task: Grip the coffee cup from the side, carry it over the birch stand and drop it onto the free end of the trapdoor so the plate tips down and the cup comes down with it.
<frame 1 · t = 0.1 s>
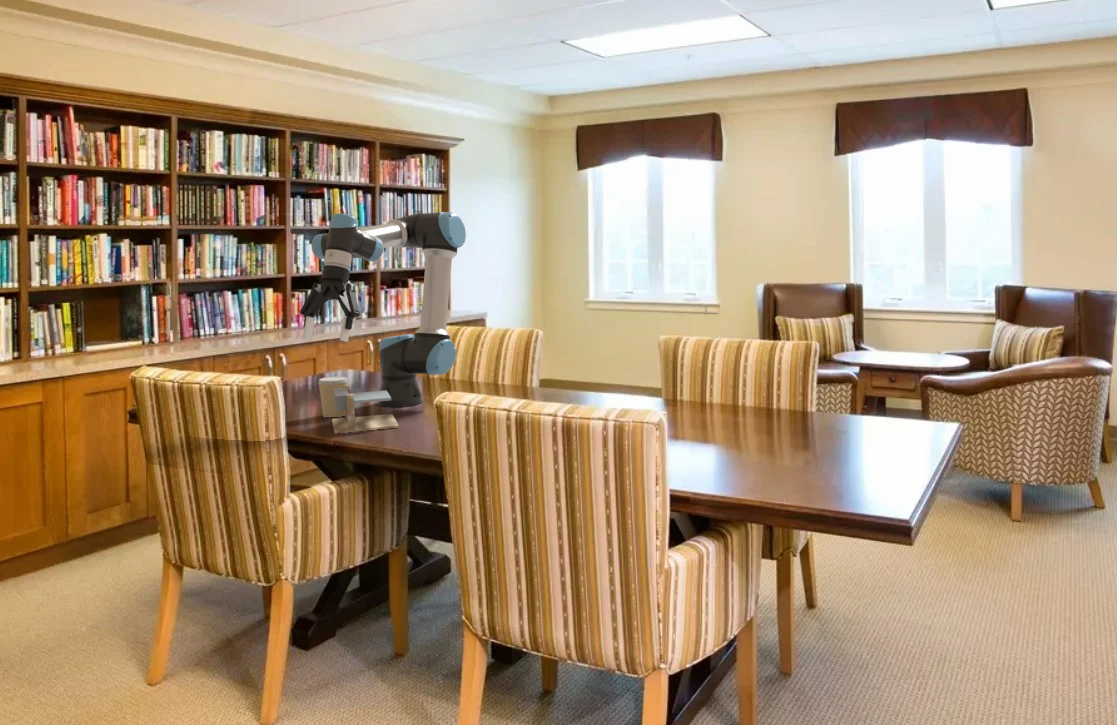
hand: (325, 340, 258), 28 cm above the table, tool tilted 20°, fingers open, 13 cm apart
coffee cup: (335, 416, 293), on the table
trapdoor: (362, 397, 275), point 9 cm above the table, hinge at 0.0°
frame: (368, 424, 277), on the table
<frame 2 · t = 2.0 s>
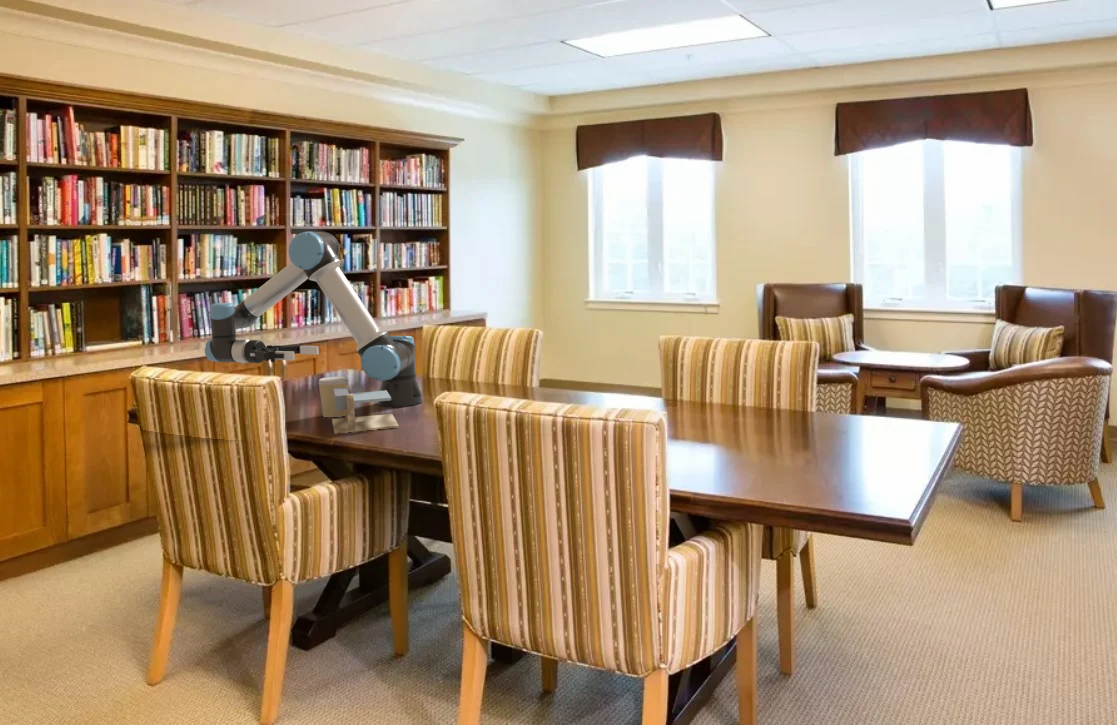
hand: (306, 353, 292), 20 cm above the table, tool horizontal, fingers open, 13 cm apart
nothing on the table moved.
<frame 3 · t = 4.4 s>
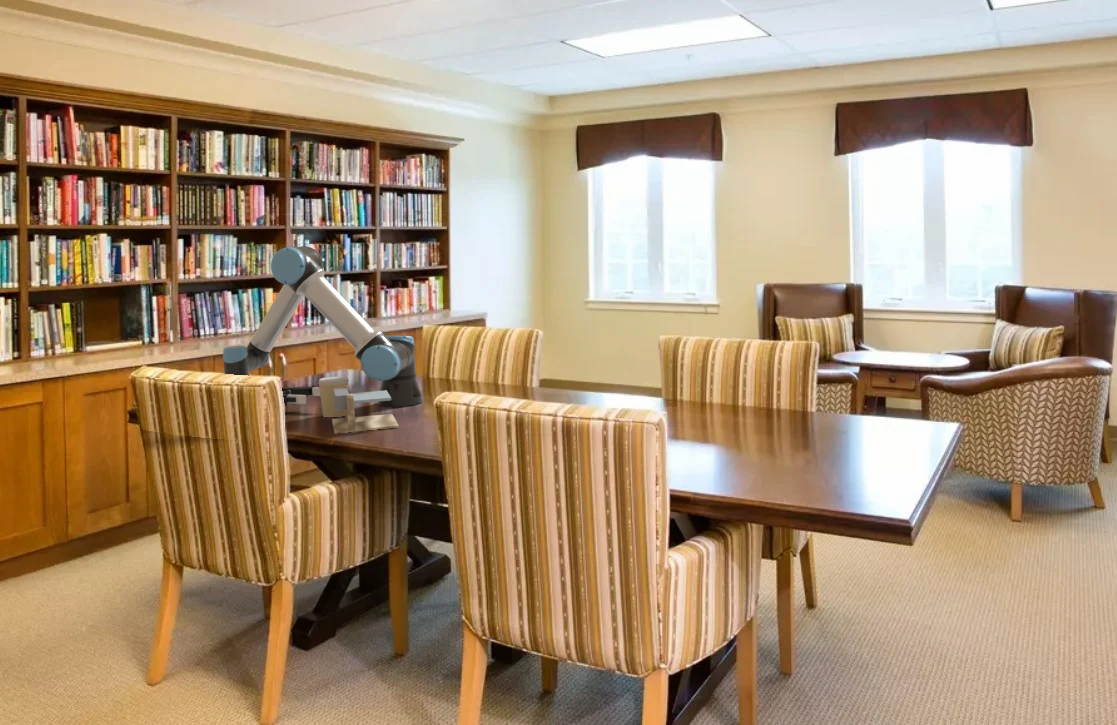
hand: (318, 395, 294), 6 cm above the table, tool horizontal, fingers open, 13 cm apart
nothing on the table moved.
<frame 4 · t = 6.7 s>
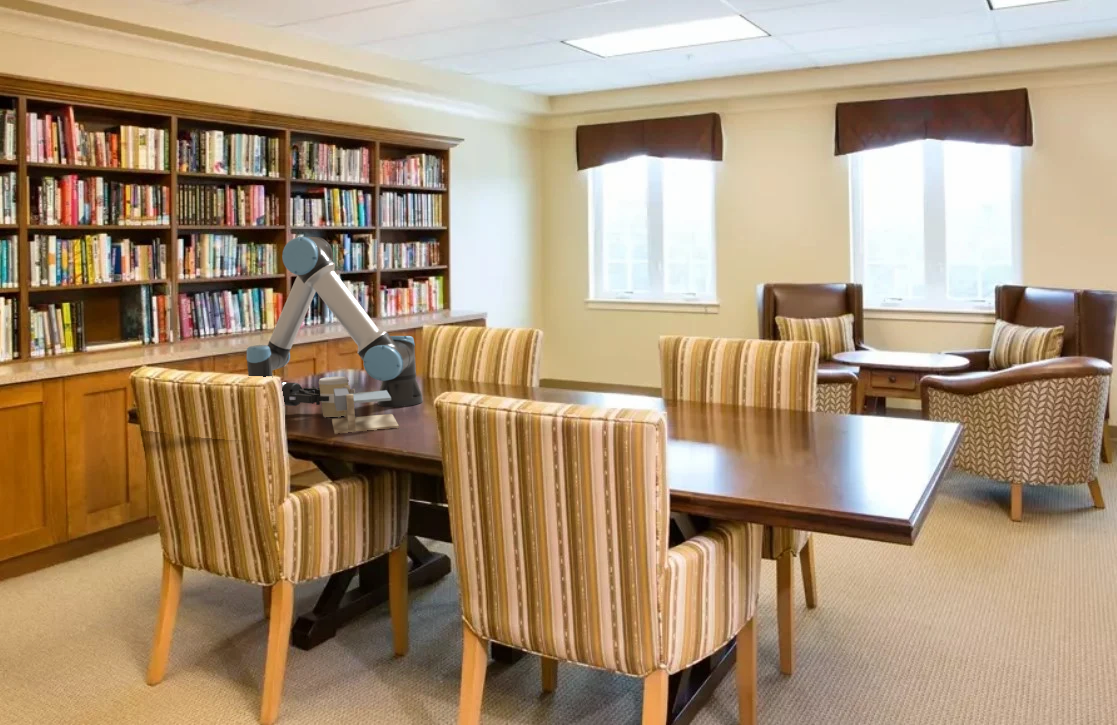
hand: (346, 395, 290), 7 cm above the table, tool horizontal, fingers closed on coffee cup, 9 cm apart
coffee cup: (335, 416, 293), on the table, touching gripper
everything else where it was.
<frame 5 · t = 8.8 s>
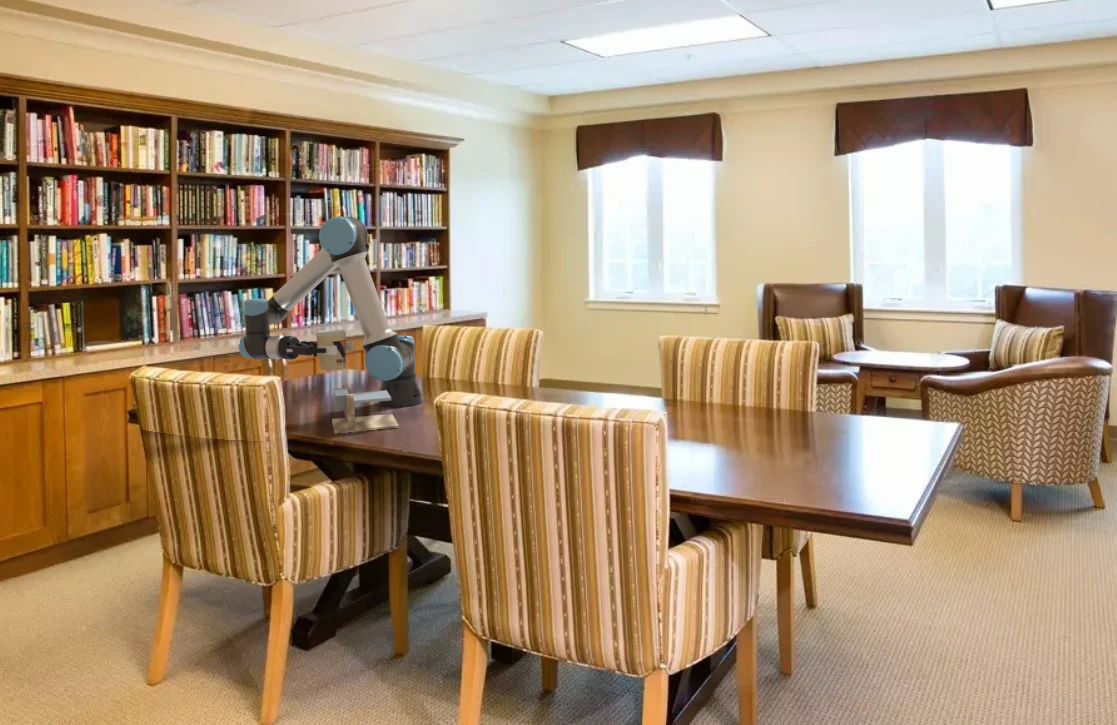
hand: (344, 348, 287), 22 cm above the table, tool horizontal, fingers closed on coffee cup, 9 cm apart
coffee cup: (333, 369, 289), point 15 cm above the table, touching gripper
everything else where it was.
when the fingers open (19 cm above the table, at t = 11.2 s): coffee cup drops 7 cm, resting on trapdoor.
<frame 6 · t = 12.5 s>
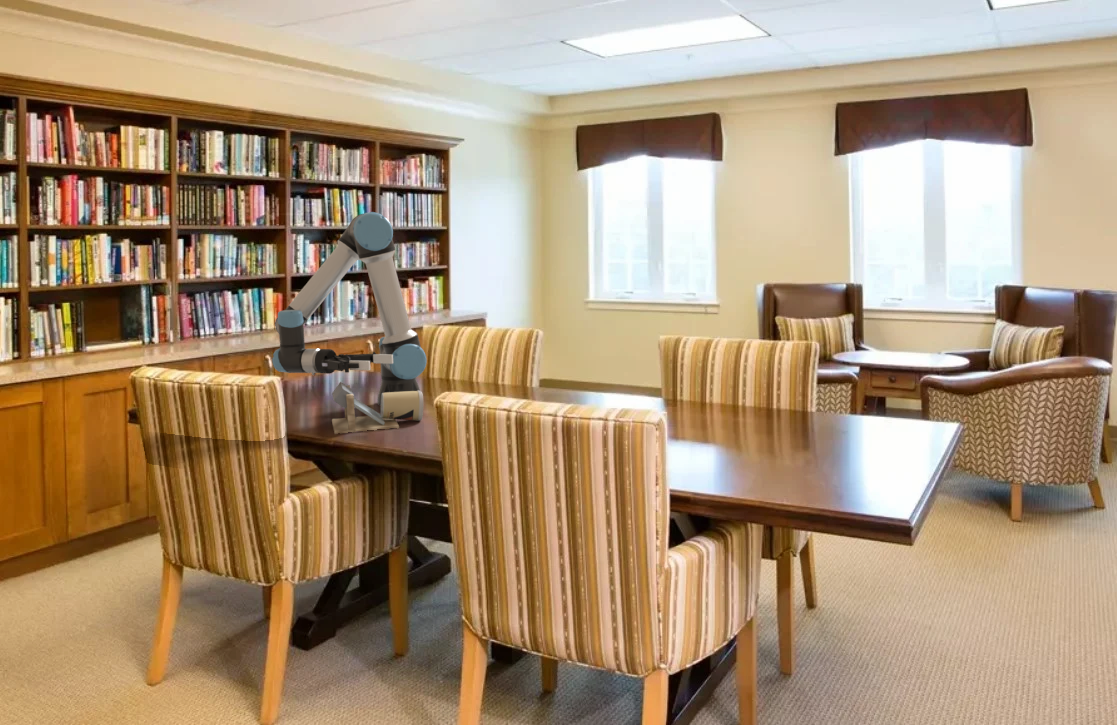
hand: (381, 362, 274), 19 cm above the table, tool horizontal, fingers open, 13 cm apart
coffee cup: (380, 405, 276), point 6 cm above the table, touching trapdoor
trapdoor: (359, 405, 275), point 6 cm above the table, hinge at -38.0°, touching coffee cup
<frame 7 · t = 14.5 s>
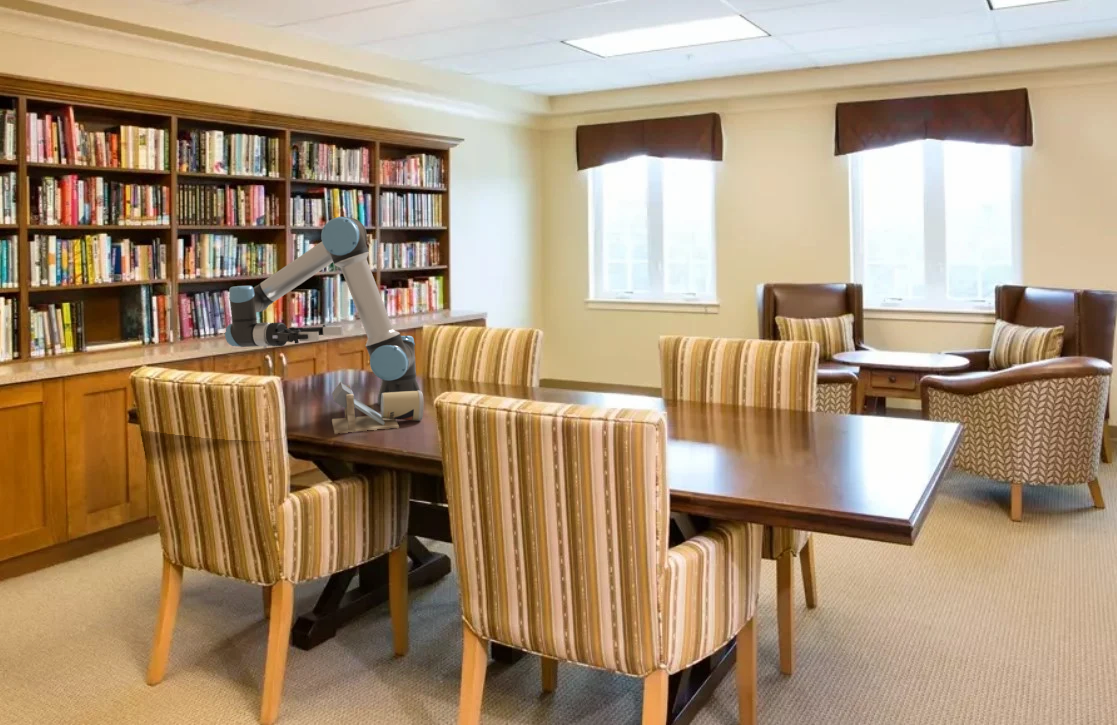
hand: (330, 333, 284), 27 cm above the table, tool horizontal, fingers open, 13 cm apart
nothing on the table moved.
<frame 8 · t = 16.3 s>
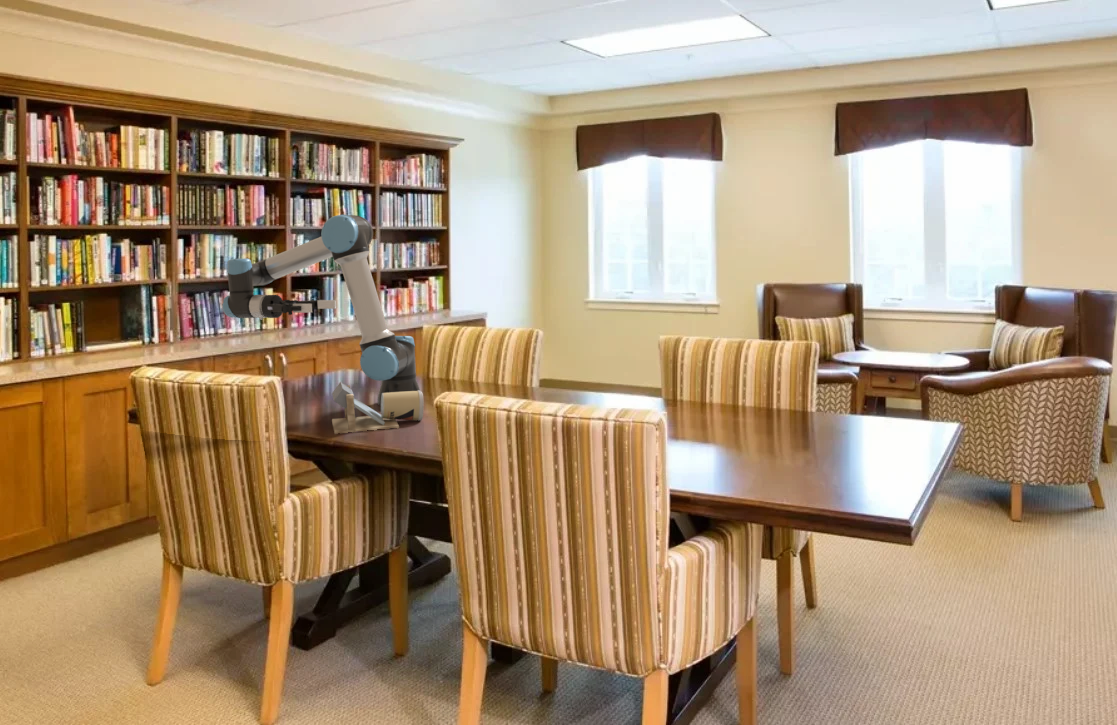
hand: (323, 306, 290), 35 cm above the table, tool horizontal, fingers open, 13 cm apart
nothing on the table moved.
at the end: coffee cup point 5.6 cm above the table; coffee cup inside the target area (5.0 cm from its centre), point 5.6 cm above the table; the gripper is holding nothing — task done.
